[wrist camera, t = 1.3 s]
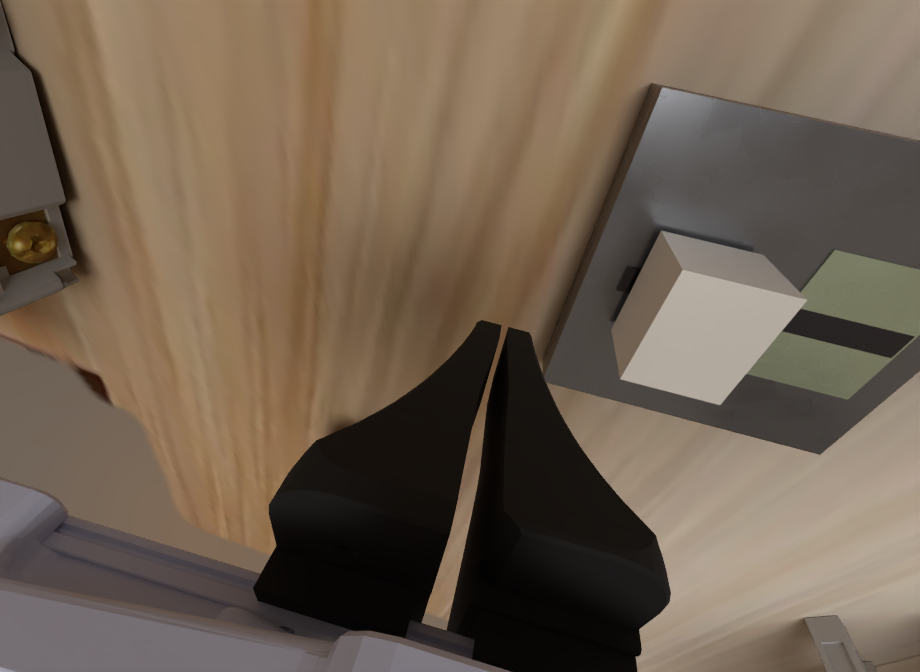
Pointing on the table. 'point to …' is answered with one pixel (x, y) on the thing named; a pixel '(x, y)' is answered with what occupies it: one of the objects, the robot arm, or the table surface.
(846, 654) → the stool
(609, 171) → the table surface
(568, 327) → the breaker panel
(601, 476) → the robot arm
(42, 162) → the electrical outlet
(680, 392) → the lever
